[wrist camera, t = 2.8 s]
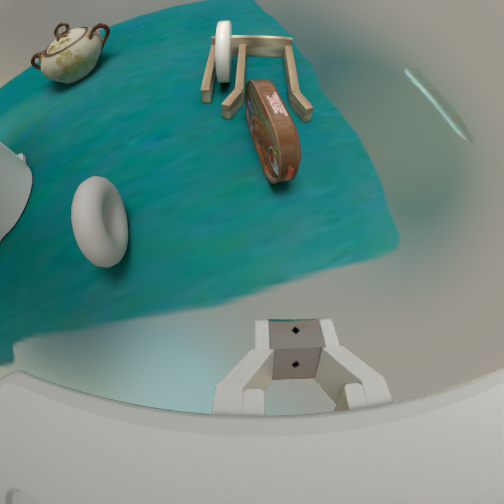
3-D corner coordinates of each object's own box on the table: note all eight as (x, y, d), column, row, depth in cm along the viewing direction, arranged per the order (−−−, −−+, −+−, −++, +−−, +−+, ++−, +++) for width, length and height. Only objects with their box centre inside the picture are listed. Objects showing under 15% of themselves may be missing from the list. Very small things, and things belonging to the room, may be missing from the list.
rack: (199, 120, 37) (195, 99, 32) (213, 54, 42) (211, 36, 38) (310, 122, 37) (315, 102, 33) (298, 55, 42) (300, 38, 38)
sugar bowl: (122, 42, 46) (107, -5, 31) (115, 73, 41) (93, 17, 27) (54, 72, 44) (32, 32, 30) (38, 107, 40) (8, 64, 26)
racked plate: (218, 96, 38) (213, 39, 28) (224, 60, 41) (221, 11, 31) (228, 95, 38) (225, 39, 28) (233, 60, 41) (231, 11, 31)
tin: (242, 112, 37) (242, 68, 29) (263, 108, 38) (266, 65, 30) (271, 197, 33) (278, 156, 25) (296, 192, 33) (309, 151, 25)
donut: (108, 204, 33) (71, 163, 23) (131, 198, 33) (98, 154, 23) (109, 278, 30) (62, 255, 20) (134, 274, 30) (92, 248, 21)
